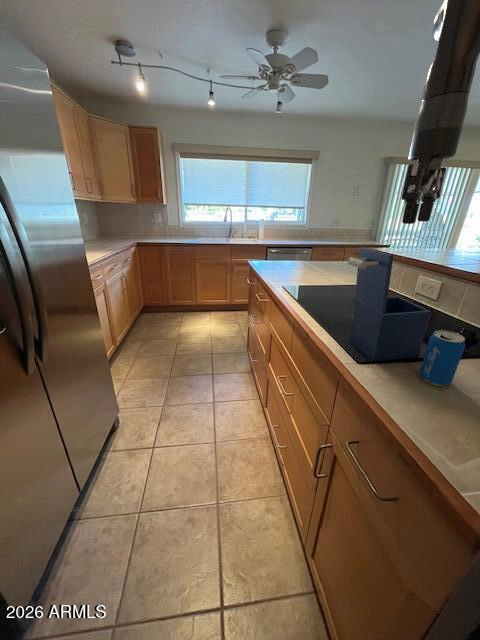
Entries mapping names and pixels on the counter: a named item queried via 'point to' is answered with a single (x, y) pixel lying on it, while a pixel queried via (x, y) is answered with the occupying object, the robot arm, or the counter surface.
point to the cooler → (389, 329)
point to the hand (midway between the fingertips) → (415, 222)
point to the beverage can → (442, 357)
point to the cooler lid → (373, 277)
